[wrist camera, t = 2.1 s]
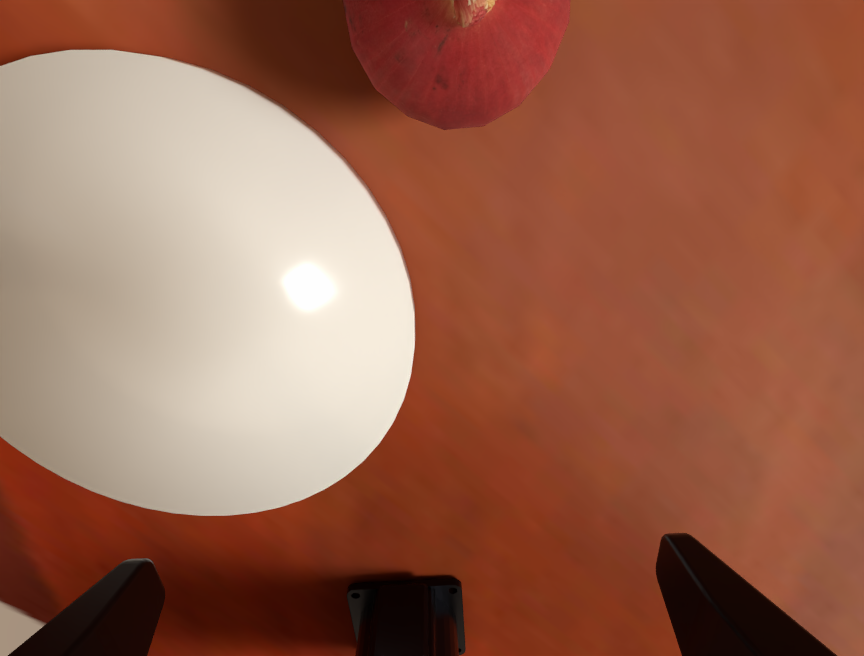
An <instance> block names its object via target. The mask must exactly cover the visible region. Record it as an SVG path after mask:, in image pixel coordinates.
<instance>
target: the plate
mask: <svg viewBox="0 0 864 656" xmlns="http://www.w3.org/2000/svg"><path fill="white" fill-rule="evenodd" d="M414 348H415V305H414V299H413V293H412V287H411V280H410V276H409V272H408V269H407V266H406V263H405V259H404V256H403V253H402V250H401V247H400V244H399V242H398V240H397V238H396V236H395V234H394V231H393V229H392V227H391V225H390V223H389V220H388V218H387V216H386V215H385V213H384V211H383V210H382V208H381V207H380V205H379V203H378V202H377V200H376V199H375V197H374V195H373V194H372V192H371V191H370V189H369V187H368V186H367V185H366V184H365V182H364V181H363V180H362V179H361V177H360V176H359V175H358V174H357V172H356V171H355V170H354V169H353V167H352V166H351V165H350V164H349V162H348V161H347V160H346V159H345V158H344V157H343V156H342V155H341V154H340V153H339V152H338V151H337V150H336V149H335V148H334V147H333V146H332V145H331V144H330V143H329V142H328V141H327V140H326V139H325V138H324V137H323V136H322V135H321V134H320V133H319V132H318V131H316V130H315V129H314V128H313V127H311V126H310V125H309V124H307V123H306V122H305V121H303V120H302V119H301V118H299V117H298V116H297V115H295V114H294V113H293V112H291V111H290V110H289V109H288V108H286V107H285V106H283V105H281V104H280V103H278V102H276V101H275V100H273V99H271V98H270V97H268V96H266V95H264V94H263V93H261V92H259V91H258V90H256V89H254V88H252V87H251V86H249V85H246V84H244V83H242V82H239V81H237V80H235V79H233V78H230V77H228V76H226V75H223V74H221V73H219V72H216V71H214V70H212V69H208V68H205V67H201V66H198V65H194V64H191V63H187V62H184V61H180V60H177V59H173V58H167V57H160V56H153V55H146V54H139V53H132V52H124V51H116V50H66V51H60V52H54V53H47V54H41V55H35V56H29V57H26V58H23V59H20V60H17V61H14V62H12V63H9V64H6V65H3V66H0V436H1V437H2V438H3V439H4V440H6V441H7V442H8V443H9V444H10V445H12V446H13V447H15V448H16V449H18V450H19V451H20V452H22V453H23V454H25V455H26V456H28V457H29V458H31V459H32V460H34V461H35V462H36V463H38V464H40V465H42V466H43V467H45V468H47V469H49V470H50V471H52V472H54V473H56V474H57V475H59V476H61V477H63V478H65V479H67V480H69V481H71V482H73V483H75V484H78V485H80V486H82V487H84V488H86V489H88V490H91V491H93V492H96V493H99V494H101V495H104V496H107V497H110V498H112V499H115V500H118V501H121V502H125V503H129V504H132V505H136V506H140V507H144V508H148V509H153V510H159V511H164V512H170V513H177V514H188V515H200V516H224V515H237V514H247V513H255V512H260V511H265V510H269V509H274V508H279V507H282V506H285V505H288V504H291V503H294V502H297V501H300V500H303V499H305V498H307V497H309V496H311V495H314V494H316V493H318V492H320V491H322V490H324V489H326V488H327V487H329V486H331V485H332V484H334V483H335V482H337V481H339V480H340V479H342V478H343V477H345V476H346V475H347V474H349V473H350V472H351V471H352V470H353V469H354V468H356V467H357V466H358V465H359V464H360V463H362V462H363V461H364V460H365V459H366V458H367V456H368V455H369V454H370V453H371V452H372V451H373V450H374V449H375V448H376V446H377V445H378V444H379V443H380V442H381V440H382V439H383V437H384V436H385V434H386V433H387V431H388V430H389V428H390V427H391V425H392V424H393V422H394V420H395V418H396V415H397V413H398V411H399V409H400V407H401V405H402V402H403V400H404V397H405V394H406V390H407V387H408V383H409V380H410V376H411V371H412V363H413V355H414Z"/></svg>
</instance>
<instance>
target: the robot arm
mask: <svg viewBox="0 0 864 656" xmlns="http://www.w3.org/2000/svg"><path fill="white" fill-rule="evenodd" d="M656 575H657V580H658V583H659V586H660V589H661V592H662V595H663V598H664V602H665V605H666V608H667V611H668V614H669V617H670V620H671V623H672V626H673V629H674V632H675V635H676V639H677V642H678V645H679V648H680V651H681V654H682V656H837V655H836V654H835V653H833V652H832V651H831V650H830V649H828V648H827V647H826V646H825V645H824V644H822V643H821V642H820V641H819V640H818V639H816V638H815V637H814V636H813V635H811V634H810V633H809V632H808V631H807V630H805V629H804V628H803V627H802V626H801V625H799V624H798V623H797V622H796V621H795V620H793V619H792V618H791V617H790V616H788V615H787V614H786V613H785V612H784V611H782V610H781V609H780V608H779V607H778V606H776V605H775V604H774V603H773V602H771V601H770V600H769V599H768V598H767V597H765V596H764V595H763V594H762V593H761V592H759V591H758V590H757V589H756V588H754V587H753V586H752V585H751V584H750V583H748V582H747V581H746V580H745V579H744V578H742V577H741V576H740V575H739V574H737V573H736V572H735V571H734V570H733V569H731V568H730V567H729V566H728V565H727V564H725V563H724V562H723V561H722V560H720V559H719V558H718V557H717V556H716V555H714V554H713V553H712V552H711V551H710V550H708V549H707V548H706V547H705V546H703V545H702V544H701V543H700V542H699V541H697V540H696V539H695V538H694V537H692V536H691V535H689V534H687V533H670V534H665V535H663V537H662V539H661V542H660V547H659V552H658V557H657V562H656ZM164 599H165V589H164V586H163V584H162V581H161V579H160V577H159V575H158V572H157V570H156V568H155V566H154V563H153V562H152V561H151V560H150V559H146V558H145V559H129V560H126V561H124V562H122V563H120V564H119V565H118V566H117V567H115V568H114V569H113V570H112V571H111V572H109V573H108V574H107V575H106V576H104V577H103V578H102V579H101V580H100V581H98V582H97V583H96V584H95V585H93V586H92V587H91V588H90V589H89V590H87V591H86V592H85V593H84V594H82V595H81V596H80V597H79V598H78V599H76V600H75V601H74V602H73V603H71V604H70V605H69V606H68V607H67V608H65V609H64V610H63V611H62V612H60V613H59V614H58V615H57V616H56V617H54V618H53V619H52V620H51V621H50V622H48V623H47V624H46V625H45V626H43V627H42V628H41V629H40V630H39V631H37V632H36V633H35V634H34V635H32V636H31V637H30V638H29V639H28V640H26V641H25V642H24V643H23V644H22V645H20V646H19V647H18V648H17V649H16V650H14V651H13V652H12V653H11V654H9V655H8V656H147V654H148V651H149V648H150V645H151V641H152V638H153V635H154V632H155V629H156V626H157V623H158V620H159V617H160V613H161V610H162V607H163V604H164ZM347 599H348V604H349V608H350V613H351V617H352V622H353V627H354V631H355V636H356V640H357V648H356V656H459V655H462V654H463V653H464V652H465V635H464V619H463V602H462V586H461V582H460V581H459V580H457V579H433V580H413V581H394V582H374V583H355V584H351V585H350V586H349V587H348V592H347Z"/></svg>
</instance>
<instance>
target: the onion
mask: <svg viewBox="0 0 864 656" xmlns="http://www.w3.org/2000/svg"><path fill="white" fill-rule="evenodd" d="M343 4H344V9H345V14H346V20H347V25H348V30H349V35H350V40H351V45H352V49H353V51H354V53H355V54H356V56H357V58H358V60H359V61H360V63H361V65H362V67H363V69H364V70H365V72H366V74H367V76H368V77H369V79H370V81H371V83H372V85H373V86H374V88H375V89H376V90H377V91H378V92H379V93H381V94H382V95H383V96H384V97H385V98H386V99H388V100H389V101H390V102H391V103H392V104H394V105H395V106H396V107H397V108H398V109H400V110H401V111H402V112H403V113H404V114H405V115H407V116H408V117H411V118H414V119H416V120H419V121H422V122H425V123H427V124H430V125H433V126H435V127H438V128H441V129H443V130H447V129H458V128H469V127H480V126H485V125H486V124H488V123H490V122H492V121H493V120H495V119H497V118H499V117H500V116H502V115H504V114H506V113H507V112H509V111H511V110H513V109H514V108H516V107H518V106H519V105H520V104H521V103H522V102H523V101H524V99H525V98H526V97H527V96H528V95H529V93H530V92H531V91H532V90H533V89H534V87H535V86H536V85H537V84H538V83H539V82H540V80H541V79H542V78H543V77H544V76H545V74H546V73H547V72H548V70H549V69H550V67H551V65H552V62H553V60H554V57H555V55H556V52H557V50H558V48H559V45H560V43H561V40H562V38H563V36H564V33H565V31H566V28H567V26H568V23H569V15H570V0H343Z"/></svg>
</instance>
